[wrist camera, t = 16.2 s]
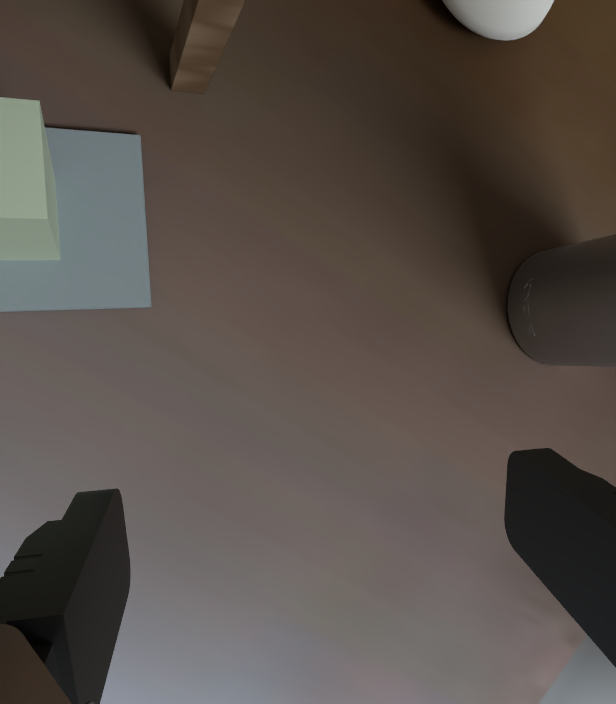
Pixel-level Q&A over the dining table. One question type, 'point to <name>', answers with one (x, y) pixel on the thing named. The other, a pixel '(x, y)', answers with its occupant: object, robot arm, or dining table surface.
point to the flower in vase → (500, 16)
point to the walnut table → (200, 42)
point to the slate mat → (89, 230)
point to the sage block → (26, 185)
